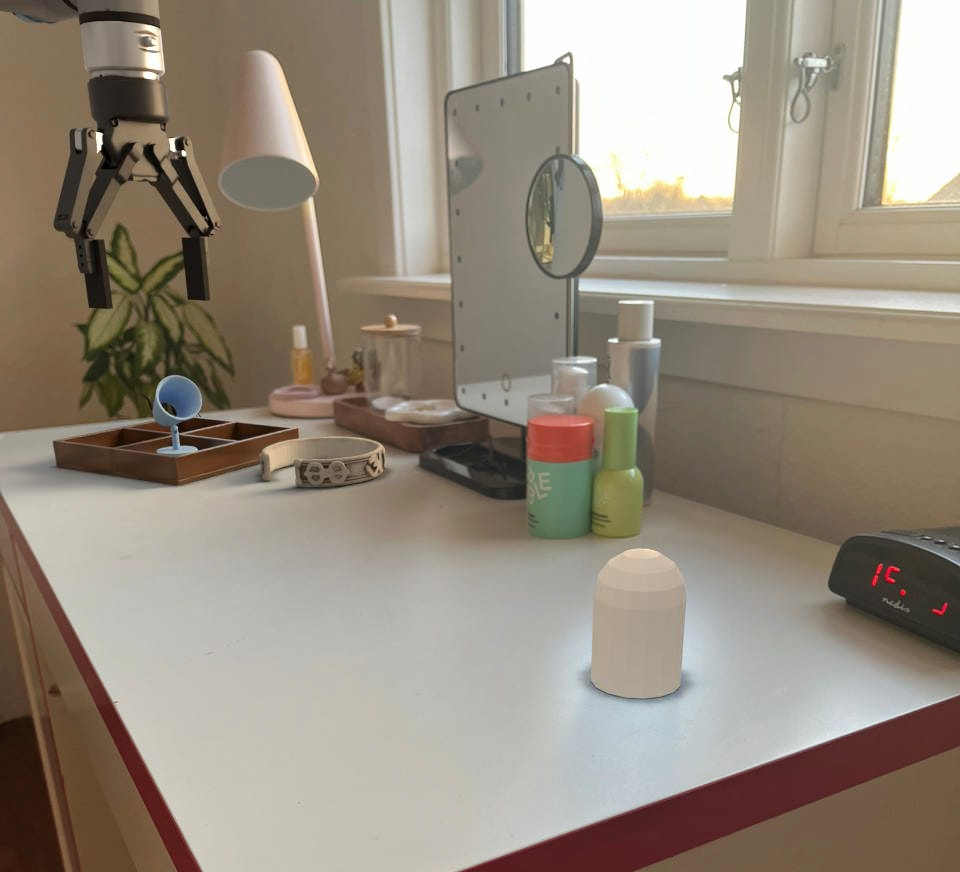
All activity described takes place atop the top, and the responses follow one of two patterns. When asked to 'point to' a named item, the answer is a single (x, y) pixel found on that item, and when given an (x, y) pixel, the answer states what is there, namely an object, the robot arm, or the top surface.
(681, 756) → the top surface
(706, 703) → the top surface
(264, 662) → the top surface
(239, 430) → the tray
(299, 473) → the bracelet
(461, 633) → the top surface
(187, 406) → the spotlight
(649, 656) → the cream domed cylinder
